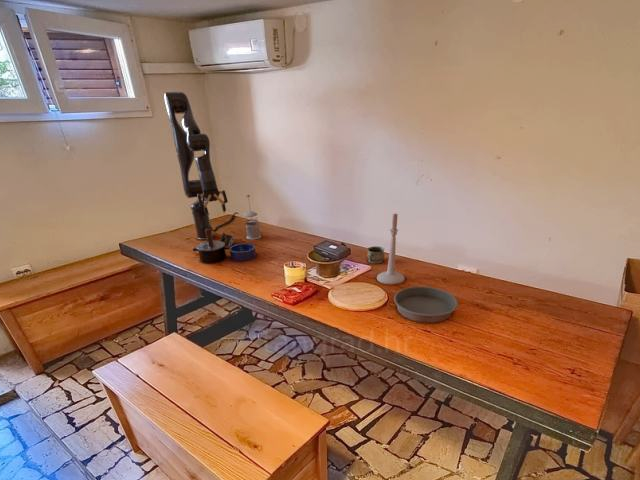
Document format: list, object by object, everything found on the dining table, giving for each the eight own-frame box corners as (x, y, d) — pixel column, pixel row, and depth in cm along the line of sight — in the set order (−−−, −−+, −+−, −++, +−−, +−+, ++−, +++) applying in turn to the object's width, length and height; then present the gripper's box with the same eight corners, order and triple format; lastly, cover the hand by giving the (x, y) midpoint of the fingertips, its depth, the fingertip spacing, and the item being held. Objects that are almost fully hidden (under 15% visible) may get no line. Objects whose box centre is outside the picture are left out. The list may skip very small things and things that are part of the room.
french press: (256, 233, 234) (250, 191, 220) (266, 237, 227) (261, 194, 213) (242, 237, 228) (236, 194, 214) (253, 241, 221) (246, 197, 207)
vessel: (373, 255, 197) (374, 244, 193) (388, 258, 193) (389, 247, 189) (362, 262, 189) (362, 251, 185) (377, 266, 185) (377, 254, 181)
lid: (200, 243, 200) (196, 225, 195) (227, 242, 201) (223, 224, 196) (194, 252, 188) (189, 234, 183) (222, 251, 189) (219, 232, 184)
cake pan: (416, 331, 134) (417, 320, 131) (382, 302, 152) (382, 293, 150) (469, 316, 141) (471, 306, 139) (431, 291, 160) (432, 281, 158)
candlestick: (388, 286, 165) (393, 219, 148) (371, 277, 174) (374, 212, 157) (410, 280, 170) (417, 213, 153) (392, 271, 179) (397, 207, 162)
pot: (198, 255, 204) (195, 242, 200) (233, 253, 205) (230, 241, 201) (192, 264, 192) (189, 251, 188) (229, 262, 193) (227, 249, 189)
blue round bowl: (232, 252, 205) (231, 244, 203) (257, 251, 206) (256, 243, 203) (229, 261, 194) (227, 252, 191) (255, 260, 195) (253, 251, 192)
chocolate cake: (229, 250, 211) (235, 231, 213) (217, 246, 210) (222, 227, 212) (231, 256, 220) (236, 238, 222) (219, 253, 219) (224, 234, 221)
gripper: (220, 177, 189) (227, 210, 197) (192, 181, 184) (201, 215, 192) (223, 178, 183) (231, 211, 191) (194, 182, 178) (203, 216, 186)
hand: (216, 213), depth 191 cm, fingers open, 8 cm apart
